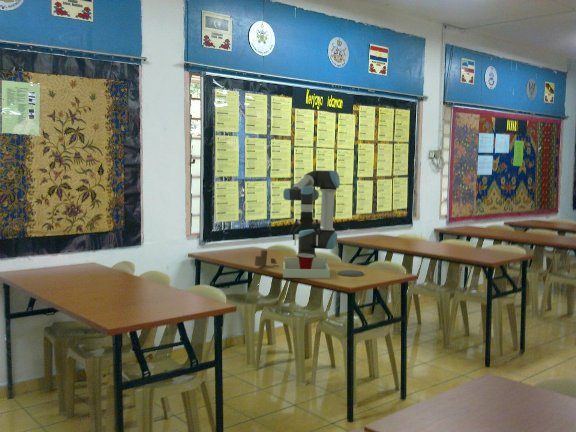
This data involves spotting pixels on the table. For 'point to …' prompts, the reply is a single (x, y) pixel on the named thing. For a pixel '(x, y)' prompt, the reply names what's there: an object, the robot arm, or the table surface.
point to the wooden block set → (263, 259)
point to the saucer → (350, 273)
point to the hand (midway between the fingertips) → (306, 245)
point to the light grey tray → (293, 269)
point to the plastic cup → (305, 260)
